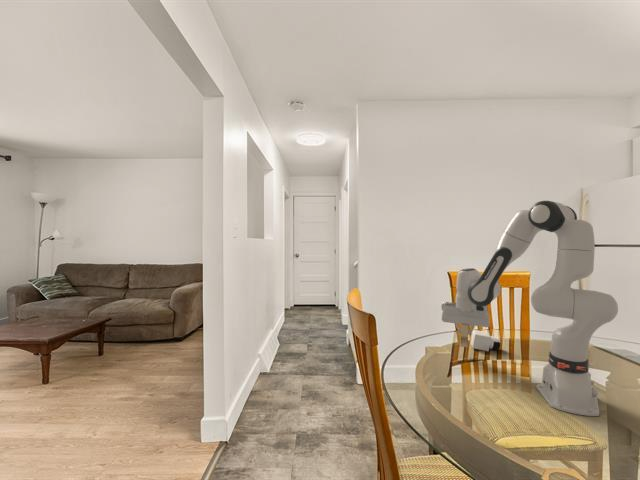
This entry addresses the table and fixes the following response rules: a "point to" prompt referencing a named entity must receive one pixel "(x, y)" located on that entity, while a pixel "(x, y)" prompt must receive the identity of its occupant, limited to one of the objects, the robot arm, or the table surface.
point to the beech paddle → (464, 335)
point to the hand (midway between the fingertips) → (464, 333)
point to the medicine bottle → (484, 341)
